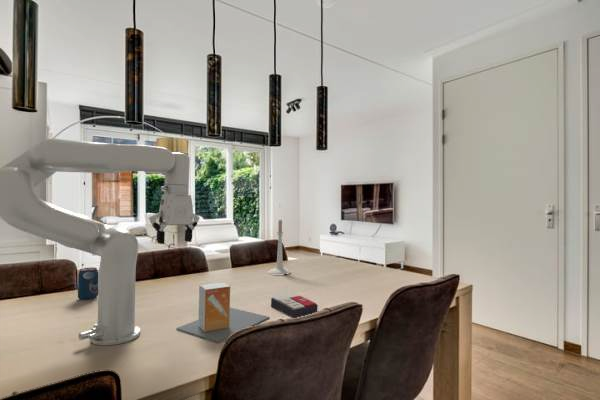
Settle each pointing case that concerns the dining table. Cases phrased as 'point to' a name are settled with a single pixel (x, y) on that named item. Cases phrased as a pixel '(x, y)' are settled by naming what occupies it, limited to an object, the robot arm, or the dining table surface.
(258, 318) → the mat
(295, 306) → the flat red grey box
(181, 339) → the dining table surface
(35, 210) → the robot arm
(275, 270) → the candlestick
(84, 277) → the soda can
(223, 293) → the small box
